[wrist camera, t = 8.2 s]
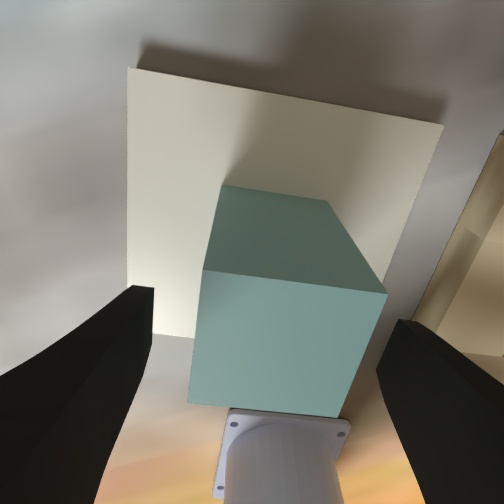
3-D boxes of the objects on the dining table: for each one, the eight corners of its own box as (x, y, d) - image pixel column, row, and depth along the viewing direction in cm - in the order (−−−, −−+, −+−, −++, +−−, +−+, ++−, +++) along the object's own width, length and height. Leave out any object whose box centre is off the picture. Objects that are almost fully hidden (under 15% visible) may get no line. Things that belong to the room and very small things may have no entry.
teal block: (302, 289, 16) (337, 417, 10) (209, 277, 16) (187, 402, 10) (327, 200, 14) (388, 294, 8) (221, 184, 14) (202, 269, 8)
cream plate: (347, 343, 19) (352, 356, 19) (133, 318, 18) (127, 330, 17) (432, 122, 14) (444, 125, 13) (135, 67, 13) (127, 67, 12)
